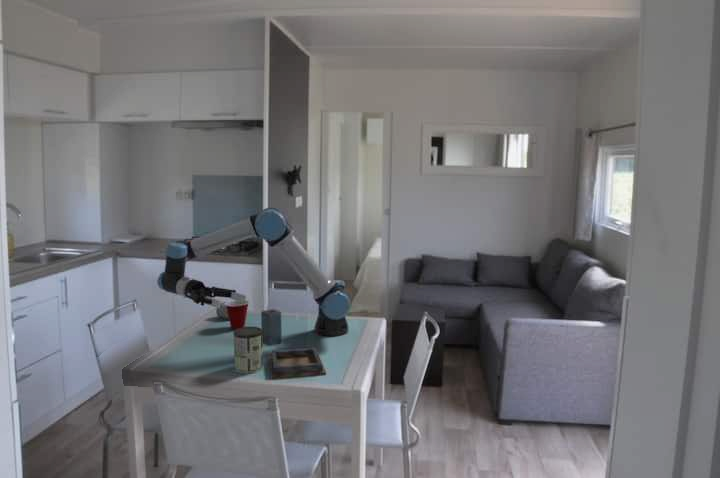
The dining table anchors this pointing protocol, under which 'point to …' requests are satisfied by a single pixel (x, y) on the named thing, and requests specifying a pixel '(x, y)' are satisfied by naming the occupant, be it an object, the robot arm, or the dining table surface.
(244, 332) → the coffee can
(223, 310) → the ceramic mug
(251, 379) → the dining table surface
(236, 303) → the plastic cup
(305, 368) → the tray
